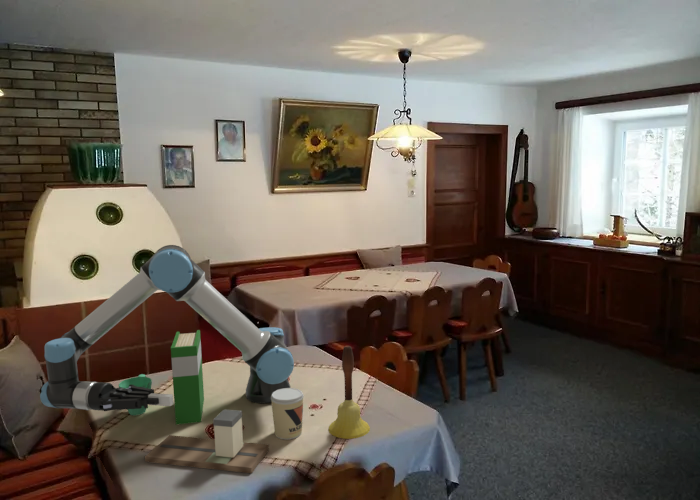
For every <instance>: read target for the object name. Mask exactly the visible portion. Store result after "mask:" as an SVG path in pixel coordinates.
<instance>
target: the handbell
mask: <svg viewBox="0 0 700 500" xmlns="http://www.w3.org/2000/svg"><path fill="white" fill-rule="evenodd" d="M354 361H355V360H354V352H353V348H352V346H351V345H344V346H343V350H342V356H341V369H342V371H343V372H342V373H343V375H344V401H342V402H340V404H339V405H338V406H337V412H336V414H337V417H336V419H335V420H334V421H332V422H331V423H330V424H329V426H328V430H327V431H328V432H329V433H328V434H330V435H332V436H333V437H334V438H335V437H336V438H338V439H344V440H345V439H346V440H347V439H348V440H349V439H350V440H351V439H359V438H362V437H364V436H366V435H367V434H369V432H370V431H371V427H370V425H369V423H368V422H367V421H365V420H363V418H362V417H361V407H360V405H359V404H358V403H357V402H355V401H354V400H353V372H354V366H355V364H354V363H355V362H354Z"/></svg>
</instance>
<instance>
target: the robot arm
mask: <svg viewBox="0 0 700 500" xmlns="http://www.w3.org/2000/svg"><path fill="white" fill-rule="evenodd" d="M139 271H140V272H138V273H137V274H136V275H134V277H132V278H131V279H130V280H128V282H126V284H124V285H123V286H122V287H120V288H119V289H118V290H116V292H115V293H113V294H112V295H110V296H109V298H108V299H106V300H105V301H104V302H103V303H101V304H100V305H99V306H97V307H96V308H95V309H94V310H93V311H92V312H90V314H88V315H87V316H86V317H85V318H84V319H82V320H81V321H80V322H78V324H76V325H75V326H74V327H73V328H72V329H70V330H69V331H68V332H66V333H64V334H63V335H62V336H61V337H59V338H55V339H52V340H50V341H48V342H46V343H45V345H44V355H43V356H44V357H43V358H44V359H45V365H46V373H47V380H48V381H46V382H45V383H44V384H43V385H42V387H41V389H40V390H41V393H40V394H39V397H40V398H39V399H40V401H41V403H42V404H43V405H44V406H45V407H49V408H55V409H75V410H76V409H77V410H85V411H91V410H93V411H101V412H108V411H109V412H110V411H118V410H121V411H122V410H127V409H140V408H142V406H144V409H146V410H147V409H148V408H149V406H165V407H171V406H173V405H174V393H155V389H152V388H151V389H149V388H143V387H138V386H135V385H133V384H131V385H129V388H127V389H124V388H119V387H115V386H114V385H113V384H112V383H111V382H103V381H102V382H99V381H80V380H79V371H78V364H77V363H78V360H79V359H80V358H81V355H82V354H83V353H84V352H85V351H87V350H88V349H89V348H91V346H92V345H94V344H95V343H97V341H98V340H99V339H101V338H102V337H103V336H104V335H106V334H107V333H108V332H109V331H110V330H111V329H113V328H114V327H115V326H116V325H117V324H119V323H120V321H122V320H124V318H126V317H127V316H128V315H129V314H131V313H132V312H133V311H135V309H136V308H138V307H139V306H140V305H141V304H143V303H144V302H145V301H146V300H147V299H148V298H149V297H151V296H152V295H154V294H155V293H156V292H157V291H163V292H165V293H167V294H168V295H169V296H170V297H171V298H173V299H174V300H175V301H176V302H182V301H184V302H185V303H186V304H188V306H190V308H192V309H193V310H194V311H195V312H196V313H198V315H200V316H201V317H202V318H203V319H204V320H205V321H206V322H207V323H209V324H210V325H211V326H212V327H213V328H214V329H215V330H217V332H218V333H220V334H221V335H222V336H223V338H226V339H227V341H229V342H230V343H231V344H232V345H233V346H234V347H235V348H237V350H239V352H241V355H242V357H241V358H242V360H243V362H245V363H246V364H247V365H248V366H249V377H248V381H247V384H246V388H245V398H246V399H247V400H248V401H250V402H253V403H256V404H272V401H271V395H272V393H273V392H274V391H276V390H279V389H283V388H291V385H290V382H289V379H288V378H289V377H290V376H291V375H292V373H293V371H294V368H295V367H294V366H295V361H294V357H293V354H292V352H291V351H290V350H289V349H288V347H287V346H286V344H285V342H284V340H285V339H284V337H285V334H284V331H283V329H282V328H280V327H275V326H274V327H272V326H271V327H260V328H258V327H257V326H256V325H255V324H254V323H253V322H252V321H251V320H250V319H249V318H248V317H247V316H246V315H245V314H243V313H242V312H241V311H240V310H239V309H238V308H237V307H236V306H234V304H232V303H231V302H230V301H229V300H228V299H227V298H226V297H225V296H224V295H223V294H222V293H220V292H219V291H218V290H217V289H216V288H215V287H214V286H213V285H212V284H211V283H210V282H209V281H208V280H207V279H206V272H205V271H204V270H203V269H202V268H201V267H200V266H199V265H198V264H197V263H196V262H195V261H194V260H193V259H191V256H190V254H189V253H188V251H187V250H186V249H184V248H183V247H181V246H179V245H176V244H168V245H164V246H162V247H160V248H159V249H157V250H156V251H155V252H154V254H153V255H152V256H151V257H150V258H149V259H148V261H145V263H144V264H143V265H141V266H140V269H139Z"/></svg>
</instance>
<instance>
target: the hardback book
mask: <svg viewBox="0 0 700 500" xmlns="http://www.w3.org/2000/svg"><path fill="white" fill-rule="evenodd" d="M170 357H171V369H172V370H171V371H172V373H171V374H172V384H173V385H172V386H173V389H172V390H173V405H174V417H175V418H174V419H175V425H176V426H177V425H186V424H195V423H202V419H203V418H202V417H203V409H204V402H205V393H204V392H205V391H204V378H203V377H204V375H203V374H204V373H203V357H202V342H201V330H200V329H197V330H196V332H188V333H180V331H176V332H175V336H174V338H173V341H172V344H171V346H170Z"/></svg>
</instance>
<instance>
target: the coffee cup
mask: <svg viewBox="0 0 700 500" xmlns="http://www.w3.org/2000/svg"><path fill="white" fill-rule="evenodd" d="M304 396H305V395H304V393H303V391H302V390H300V389H299V388H294V387H290V388H283V389H279V390H276V391H274V392H273V393H272V395H271V401H272V403H271V410H272V418H273V419H272V420H273V427H274V434H275V436H276V438H277V439H281V440H293V439H297V438H299V437H300V436H301V435H302V433H303V416H304V415H303V412H304Z"/></svg>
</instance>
